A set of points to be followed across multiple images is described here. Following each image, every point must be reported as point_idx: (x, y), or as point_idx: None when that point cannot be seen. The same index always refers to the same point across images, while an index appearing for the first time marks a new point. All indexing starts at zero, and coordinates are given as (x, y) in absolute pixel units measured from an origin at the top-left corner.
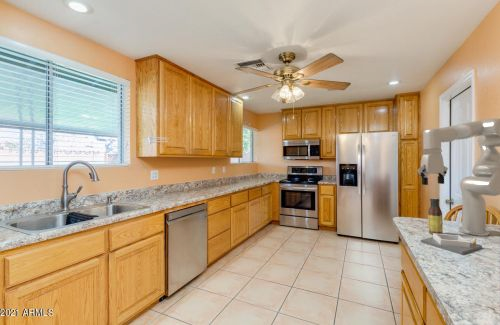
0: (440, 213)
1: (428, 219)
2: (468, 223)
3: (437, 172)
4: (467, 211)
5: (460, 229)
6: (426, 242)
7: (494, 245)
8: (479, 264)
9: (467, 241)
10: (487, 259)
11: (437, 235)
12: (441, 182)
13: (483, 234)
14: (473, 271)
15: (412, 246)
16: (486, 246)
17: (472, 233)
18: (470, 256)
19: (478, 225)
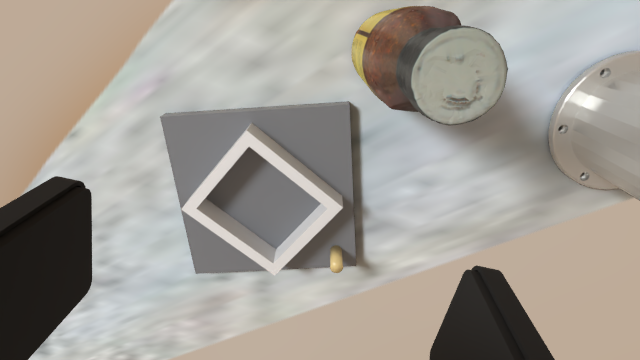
0: (409, 110)
1: (370, 24)
2: (603, 141)
3: None
4: None
5: (585, 82)
6: (168, 142)
7: (445, 260)
8: (169, 325)
9: (278, 265)
10: (242, 316)
11: (230, 165)
12: (441, 352)
13: (579, 182)
14: (97, 342)
15: (71, 137)
16: (399, 254)
17: (552, 150)
18: (213, 285)
19: (611, 181)
